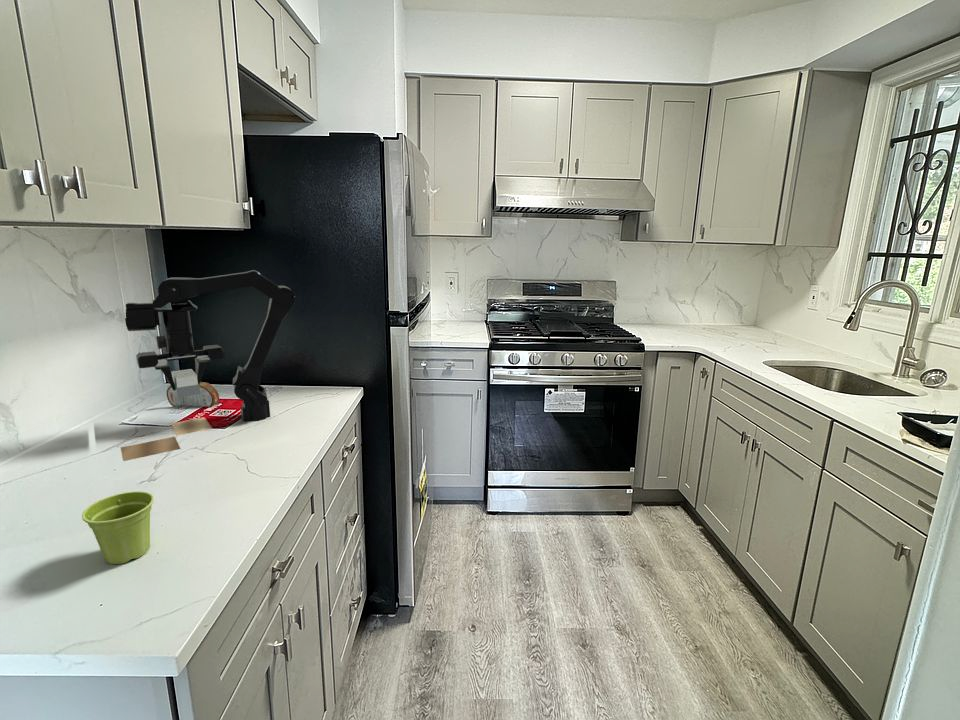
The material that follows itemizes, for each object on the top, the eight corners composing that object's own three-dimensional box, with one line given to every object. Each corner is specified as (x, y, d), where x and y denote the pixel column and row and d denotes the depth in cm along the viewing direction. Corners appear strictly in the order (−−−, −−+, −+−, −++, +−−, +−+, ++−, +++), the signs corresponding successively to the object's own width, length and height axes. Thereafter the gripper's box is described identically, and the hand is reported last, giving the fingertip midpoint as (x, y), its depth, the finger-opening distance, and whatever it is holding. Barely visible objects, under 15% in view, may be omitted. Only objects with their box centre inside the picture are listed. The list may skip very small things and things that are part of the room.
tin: (221, 409, 147) (218, 381, 145) (214, 412, 144) (211, 385, 142) (174, 406, 149) (170, 379, 147) (166, 410, 146) (162, 382, 144)
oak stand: (205, 422, 137) (204, 417, 136) (212, 433, 129) (212, 428, 129) (171, 428, 132) (170, 423, 131) (177, 440, 124) (176, 435, 124)
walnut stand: (175, 442, 124) (174, 436, 123) (181, 454, 117) (180, 448, 116) (121, 453, 117) (120, 447, 117) (124, 467, 110) (123, 460, 110)
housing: (194, 386, 132) (192, 368, 131) (200, 394, 126) (197, 375, 125) (172, 389, 129) (170, 371, 128) (177, 397, 123) (175, 378, 122)
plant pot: (76, 572, 76) (65, 522, 74) (116, 536, 85) (108, 491, 83) (139, 571, 77) (130, 521, 74) (172, 535, 86) (165, 490, 84)
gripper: (212, 320, 136) (218, 375, 139) (130, 327, 124) (139, 386, 128) (221, 327, 127) (228, 385, 131) (134, 334, 116) (144, 398, 120)
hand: (185, 388), depth 128 cm, fingers closed on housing, 5 cm apart
